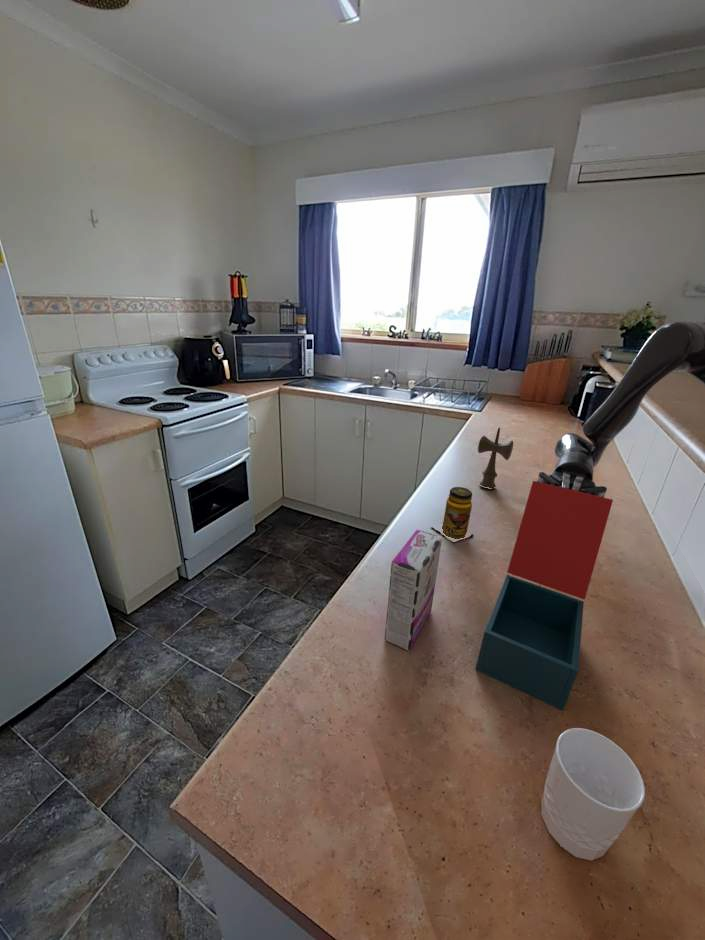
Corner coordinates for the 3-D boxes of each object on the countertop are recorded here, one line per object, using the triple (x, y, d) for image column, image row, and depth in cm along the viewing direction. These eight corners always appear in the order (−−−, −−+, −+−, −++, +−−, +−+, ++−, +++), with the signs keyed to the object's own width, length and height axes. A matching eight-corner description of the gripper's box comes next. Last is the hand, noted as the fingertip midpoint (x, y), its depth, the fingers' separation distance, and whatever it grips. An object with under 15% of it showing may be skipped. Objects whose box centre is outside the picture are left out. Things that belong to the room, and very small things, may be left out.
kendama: (500, 494, 122) (514, 432, 115) (469, 486, 127) (480, 426, 119) (504, 488, 127) (518, 428, 119) (474, 480, 132) (485, 422, 124)
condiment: (453, 543, 95) (461, 499, 91) (429, 527, 102) (436, 485, 97) (474, 536, 99) (483, 493, 94) (450, 521, 106) (457, 480, 101)
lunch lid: (613, 499, 66) (612, 499, 67) (532, 480, 72) (533, 481, 73) (584, 599, 66) (584, 598, 67) (507, 572, 72) (507, 572, 73)
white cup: (571, 880, 40) (600, 823, 36) (519, 793, 47) (540, 737, 43) (631, 854, 42) (665, 797, 38) (573, 775, 49) (597, 720, 45)
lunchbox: (563, 711, 57) (578, 671, 54) (475, 669, 62) (484, 631, 59) (571, 636, 70) (583, 601, 67) (498, 607, 76) (506, 574, 73)
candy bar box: (406, 601, 76) (416, 527, 69) (431, 612, 74) (444, 536, 67) (381, 640, 67) (390, 559, 60) (409, 653, 65) (421, 571, 58)
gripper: (545, 449, 89) (533, 474, 75) (613, 463, 83) (614, 493, 69) (537, 480, 92) (524, 509, 78) (602, 495, 86) (601, 530, 72)
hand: (567, 501), depth 73 cm, fingers closed
